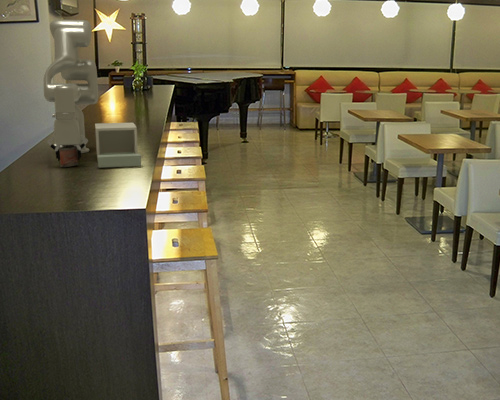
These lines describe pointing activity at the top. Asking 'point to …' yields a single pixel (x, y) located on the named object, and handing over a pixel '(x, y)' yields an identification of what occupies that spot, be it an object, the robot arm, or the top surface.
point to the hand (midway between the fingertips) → (68, 159)
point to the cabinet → (116, 138)
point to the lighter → (68, 155)
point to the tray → (119, 159)
